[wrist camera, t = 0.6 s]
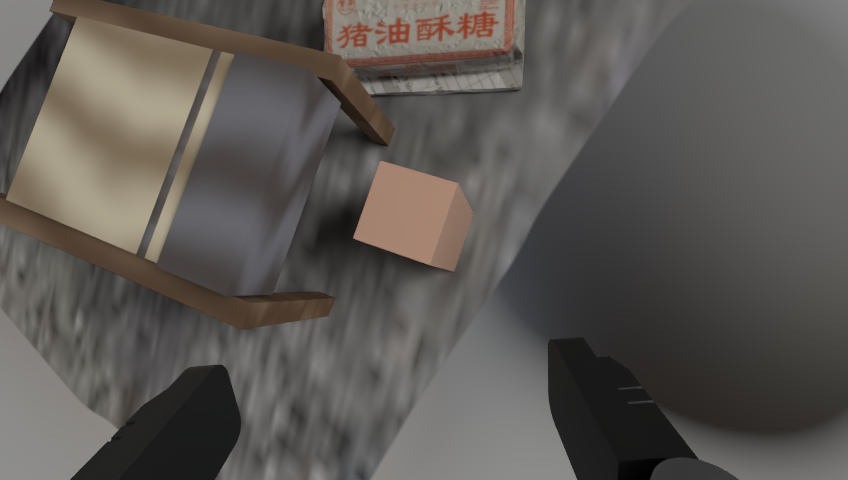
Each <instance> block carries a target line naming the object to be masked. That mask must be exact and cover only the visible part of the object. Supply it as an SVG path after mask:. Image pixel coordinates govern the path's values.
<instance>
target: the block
mask: <svg viewBox="0 0 848 480" xmlns="http://www.w3.org/2000/svg"><path fill="white" fill-rule="evenodd" d="M472 217H473V212H472V210H471V208H470V206H469V204H468V202H467V200H466V198H465V196H464V194H463V192H462V190H461V188H460V186H459V184H458V183H455V182H452V181H448V180H445V179H442V178H438V177H435V176H431V175H428V174H424V173H421V172H418V171H414V170H411V169H407V168H404V167H400V166H397V165H394V164H390V163H387V162H383V161H380V163H379V166H378V169H377V172H376V175H375V177H374V180H373V183H372V186H371V189H370V192H369V194H368V197H367V200H366V203H365V206H364V209H363V211H362V214H361V217H360V220H359V223H358V226H357V228H356V231H355V234H354V237H353V239H356V240H359V241H362V242H365V243H367V244H370V245H373V246H376V247H379V248H382V249H385V250H387V251H390V252H393V253H396V254H399V255H402V256H405V257H408V258H410V259H413V260H416V261H419V262H422V263H425V264H428V265H431V266H434V267H438V268H442V269H445V270H449V271H453V272H454V270H455V267H456V264H457V261H458V258H459V255H460V252H461V250H462V247H463V244H464V241H465V238H466V235H467V232H468V229H469V226H470V223H471V220H472Z"/></svg>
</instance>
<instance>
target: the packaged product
mask: <svg viewBox="0 0 848 480" xmlns="http://www.w3.org/2000/svg"><path fill="white" fill-rule="evenodd" d="M525 2H526V0H324V3H323V6H322V10H323V20H324V35H325V36H324V49H323V52H328V53H332V54H337V55H341V57H342V58H343V59H344V61H345V62H346V63H347V65H348V66H349V68H350V69H351V70H352V72H353V73H354V74H355V76H356V77H357V78H358V80H359V81H360V83H361V84H362V85H363V87H364V88H365V89H366V91H367V92H368V93H369V95H370V96H375V95H437V94H438V95H443V94H450V93H458V92H466V93H467V92H495V91H510V90H521V89H522V77H523V62H524V38H525Z"/></svg>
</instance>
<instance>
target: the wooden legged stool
mask: <svg viewBox="0 0 848 480" xmlns="http://www.w3.org/2000/svg"><path fill="white" fill-rule="evenodd" d="M50 11H51V12H53V13H54V14H56V15H58V16H59V17H61V18H63V19H64V20H66V21H68V22H69V23H71V24H73V25H74V24H75V22H76V19H77V16H79V17H83V18H87V19H91V20H95V21H99V22H103V23H107V24H112V25H116V26H120V27H124V28H128V29H132V30H136V31H140V32H144V33H148V34H152V35H156V36H160V37H164V38H168V39H172V40H177V41H181V42H185V43H189V44H193V45H197V46H201V47H205V48H209V49H216V50H219V51H221V52H225V53H229V54H233V55H235V52H236V51H241V52H245V53H249V54H253V55H257V56H261V57H265V58H269V59H274V60H278V61H282V62H286V63H290V64H294V65H298V66H302V67H307V68H309V69H310V70H311V71H312V72H313V73H314V74H315V75H316V76H317V77H318V79H319V80H320V81H321V82H322V83H323V84H324V85H325V86H326V87H327V88H328V89H329V90H330V92H331V93H332V94H333V95H334V96H335V97H336V98H337V99H338V100H339V101H340V102H341V105H340V108H341V109H342V110H343V111H344V112H345V113H346V114H347V115H348V116H349V117H350V119H351V120H352V121H353V122H354V123H355V124H356V125H357V126H358V127H359V128H360V129H361V130H362V131H363V132H364V133H365V134H366V135H367V136H368V137H369V138H370V140H371V141H372V142H376V143H380V144H383V145H387V146H389V144H390V141H391V138H392V135H393V132H394V127H393V126H392V125H391V123H390V122H389V121H388V119H387V118H386V117H385V115H384V114H383V112H382V111H381V110H380V108H379V107H378V106H377V104H376V103H375V102H374V100H373V99H372V97H371V96H370V95H369V93H368V92H367V91H366V89H365V88H364V87H363V85H362V84H361V83H360V81H359V80H358V78H357V77H356V76H355V74H354V73H353V72H352V70H351V69H350V68H349V66H348V65H347V63H346V62H345V61H344V59H343V58H342V57H341V55H337V54H332V53H328V52H323V51H319V50H315V49H310V48H306V47H302V46H297V45H293V44H289V43H284V42H280V41H275V40H271V39H267V38H262V37H258V36H254V35H249V34H245V33H240V32H236V31H232V30H227V29H223V28H219V27H214V26H210V25H206V24H201V23H197V22H192V21H188V20H184V19H179V18H175V17H171V16H166V15H162V14H157V13H153V12H149V11H144V10H140V9H136V8H131V7H127V6H123V5H118V4H114V3H109V2H105V1H101V0H53V3H52V6H51V8H50ZM7 195H8V194H5V193H0V223H2V224H5V225H7V226H9V227H11V228H14V229H16V230H18V231H20V232H23V233H25V234H27V235H29V236H32V237H34V238H36V239H38V240H41V241H43V242H45V243H47V244H50V245H52V246H54V247H56V248H59V249H61V250H63V251H65V252H68V253H70V254H72V255H75V256H77V257H79V258H81V259H84V260H86V261H88V262H90V263H93V264H95V265H97V266H99V267H102V268H104V269H106V270H108V271H111V272H113V273H115V274H117V275H120V276H122V277H124V278H126V279H129V280H131V281H133V282H135V283H138V284H140V285H142V286H144V287H147V288H149V289H151V290H153V291H156V292H158V293H160V294H162V295H165V296H167V297H169V298H172V299H174V300H176V301H178V302H181V303H183V304H185V305H187V306H190V307H192V308H194V309H196V310H199V311H201V312H203V313H205V314H208V315H210V316H212V317H214V318H217V319H219V320H221V321H223V322H226V323H228V324H230V325H232V326H235V327H237V328H239V329H241V330H242V329H248V328H254V327H261V326H267V325H273V324H280V323H286V322H293V321H299V320H305V319H312V318H318V317H324V316H329V314H330V311H331V308H332V305H333V302H334V300H335V298H333V297H331V296H328V295H326V294H323V293H321V292H291V293H273V294H272V295H246V296H224V295H222V294H219V293H217V292H215V291H212V290H210V289H208V288H205V287H203V286H201V285H198V284H196V283H194V282H191V281H189V280H186V279H184V278H182V277H179V276H177V275H175V274H172V273H170V272H168V271H165V270H163V269H161V268H158V267H156V264H157V263H155V262H153V261H150V260H148V259H146V258H143V257H140V256H137V255H136V254H134V253H131V252H129V251H127V250H124V249H122V248H119V247H117V246H115V245H112V244H110V243H108V242H105V241H103V240H100V239H98V238H96V237H93V236H91V235H89V234H86V233H84V232H81V231H79V230H77V229H74V228H72V227H70V226H67V225H65V224H62V223H60V222H58V221H55V220H53V219H51V218H48V217H46V216H43V215H41V214H39V213H36V212H34V211H32V210H29V209H27V208H24V207H22V206H20V205H17V204H15V203H13V202H10V201H8V200H6V198H7Z"/></svg>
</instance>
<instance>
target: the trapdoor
mask: <svg viewBox="0 0 848 480" xmlns="http://www.w3.org/2000/svg"><path fill="white" fill-rule="evenodd" d="M340 105H341V102H340V101H339V100H338V99H337V98H336V97H335V96H334V95H333V94H332V93H331V92H330V90H329V89H328V88H327V87H326V86H325V85H324V84H323V83H322V82H321V81H320V80H319V79H318V77H317V76H316V75H315V74H314V73H313V72H312V71H311V70H310V69H309V68H307V67H302V66H298V65H294V64H290V63H286V62H282V61H278V60H274V59H269V58H265V57H261V56H257V55H253V54H249V53H245V52H241V51H236V52H235V55H233V54H229V53H225V52H221V51H219V50H216V49H209V48H205V47H201V46H197V45H193V44H189V43H185V42H181V41H177V40H172V39H168V38H164V37H160V36H156V35H152V34H148V33H144V32H140V31H136V30H132V29H128V28H124V27H120V26H116V25H112V24H107V23H103V22H99V21H95V20H91V19H87V18H83V17H79V16H77V19H76V22H75V24H74V27H73V29H72V32H71V34H70V37H69V39H68V42H67V44H66V47H65V50H64V52H63V55H62V57H61V60H60V62H59V65H58V67H57V70H56V73H55V75H54V78H53V80H52V83H51V85H50V88H49V90H48V93H47V96H46V98H45V101H44V103H43V106H42V108H41V111H40V113H39V116H38V118H37V121H36V124H35V126H34V129H33V131H32V134H31V136H30V139H29V141H28V144H27V147H26V149H25V152H24V154H23V157H22V159H21V162H20V164H19V167H18V170H17V172H16V175H15V177H14V180H13V182H12V185H11V187H10V190H9V192H8V195H7V198H6V200H8V201H10V202H13V203H15V204H17V205H20V206H22V207H24V208H27V209H29V210H32V211H34V212H36V213H39V214H41V215H43V216H46V217H48V218H51V219H53V220H55V221H58V222H60V223H62V224H65V225H67V226H70V227H72V228H74V229H77V230H79V231H81V232H84V233H86V234H89V235H91V236H93V237H96V238H98V239H100V240H103V241H105V242H108V243H110V244H112V245H115V246H117V247H119V248H122V249H124V250H127V251H129V252H131V253H134V254H136V255H137V256H140V257H143V258H146V259H148V260H150V261H153V262H155V263H157V264H156V267H158V268H161V269H163V270H165V271H168V272H170V273H172V274H175V275H177V276H179V277H182V278H184V279H186V280H189V281H191V282H194V283H196V284H198V285H201V286H203V287H205V288H208V289H210V290H212V291H215V292H217V293H219V294H222V295H224V296H246V295H272V294H273V291H274V289H275V286H276V283H277V280H278V277H279V275H280V272H281V269H282V266H283V264H284V261H285V258H286V255H287V252H288V250H289V247H290V244H291V241H292V239H293V236H294V233H295V230H296V227H297V225H298V222H299V219H300V216H301V214H302V211H303V208H304V205H305V202H306V200H307V197H308V194H309V191H310V188H311V186H312V183H313V180H314V177H315V175H316V172H317V169H318V166H319V163H320V161H321V158H322V155H323V152H324V150H325V147H326V144H327V141H328V138H329V136H330V133H331V130H332V127H333V125H334V122H335V119H336V116H337V113H338V111H339V108H340Z"/></svg>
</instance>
